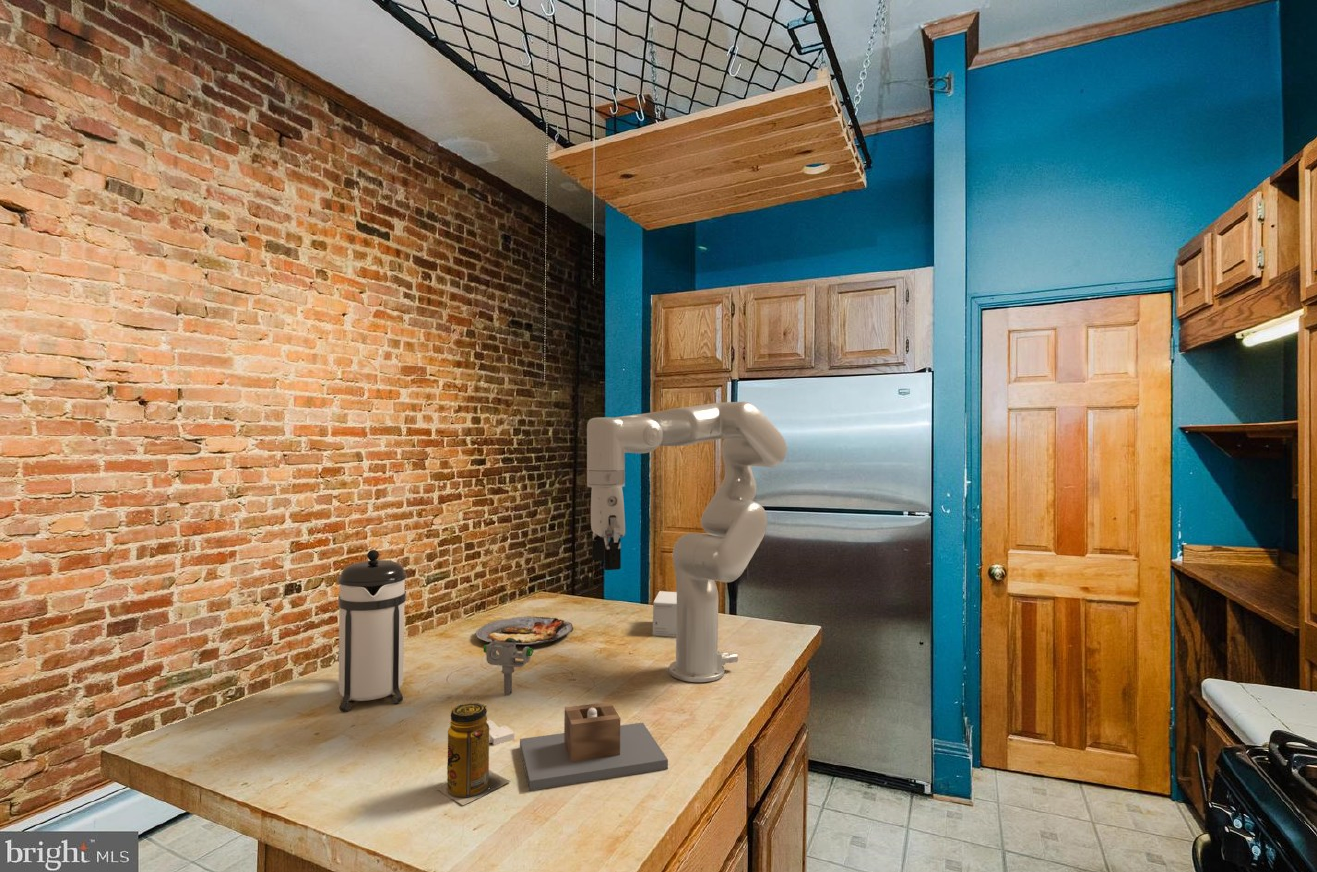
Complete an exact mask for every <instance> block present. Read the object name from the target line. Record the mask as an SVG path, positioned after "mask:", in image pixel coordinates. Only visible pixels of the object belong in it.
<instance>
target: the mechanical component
mask: <svg viewBox="0 0 1317 872" xmlns="http://www.w3.org/2000/svg"><path fill="white" fill-rule="evenodd" d="M516 645H517V644H512V643H497V642H489V644H484V646H483V653H485V655H486V658H485V659H486V662H487V663H488V664H489V665H492V666H499V667H502V668H501V669H502V670H501V674H503V695H504V696H510V695H511V694H512V691H513V687H512V684H513V682H512V681H513V679H512V678H513V674H514V673H515V668H523V667H524V666H525V665H526V664H527V663H529V661H530V660H531V657H532V656H533V653H534V650H533V648H532V647H531V648H530V646H525V647H523V650H522V652H518V648H517V647H516ZM497 652H498V653H497ZM517 659H518V660H517ZM520 659H521V660H520Z"/></svg>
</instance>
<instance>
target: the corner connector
mask: <svg viewBox="0 0 1317 872" xmlns="http://www.w3.org/2000/svg"><path fill="white" fill-rule="evenodd" d="M486 722H487V724H488V725H489V743H490V744H492V745H493V746H497V745H501V744H504V742H505V743H508V742H512V741H515V732H514V731H512V729H510V728H509V727H508V726H507V725H503V726H498V725H497V724H496V723H495V722H494V721H492V720H490V719H489V720H487V721H486ZM511 740H512V741H511ZM500 743H501V744H500Z"/></svg>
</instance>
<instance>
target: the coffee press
mask: <svg viewBox="0 0 1317 872" xmlns="http://www.w3.org/2000/svg"><path fill="white" fill-rule="evenodd" d="M366 557H367V559H368V560H365V561H364V560H363V561H359V562H355V563H352V564H349V565H348V566H346V567H345V568H343V569H342V571H341V573H340V575H339V576H338V577H337V584H338V585H339V595H338V598H337V599H338V601H337V602H338V603H337V604H338V605H337V606H338V608H339V609H338V610H339V616H338V618H339V621H338V623H339V624H338V633H339V635H338V692H339V694H340V696H342V700H341V702H340V704H339V709H338V710H339V711H341V712H345V713H346V712H349V711H350V710H351V708H352V707H353V705H354V703H355V702H360V701H361V702H364V701H365V702H366V701H373V700H379V699H382V698H389V700H390V701H391V702H392V703H393V704H394V705H398V704H399V703H402V702H403V701H404V697H403V694H402V692H401V690H400V689H401V687H402V685H403V684H404V673H405V672H404V667H405V666H404V663H405V662H404V660H405V659H404V657H405V656H404V655H405V652H404V651H405V603H406V600H407V599H406V595H407V594H406V593H407V591H406V590H405V582H406V579H407V577H408V573H407V572H406V571H405V568H404V567H403V565H402V564H400V563H398V562H396V561H392V560H384V559H383V560H382V559H379V560H378V558H379V557H380V554H379V551H378V550H376V549H371V550H369V551H368V553H367V554H366Z"/></svg>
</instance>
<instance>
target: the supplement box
mask: <svg viewBox="0 0 1317 872" xmlns="http://www.w3.org/2000/svg"><path fill="white" fill-rule="evenodd" d="M652 605H653V607H652V636H659V637H673V638H676V613H677V591H665V590H659V592H658V594H656V597H655V599H654V600H653V604H652Z"/></svg>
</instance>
